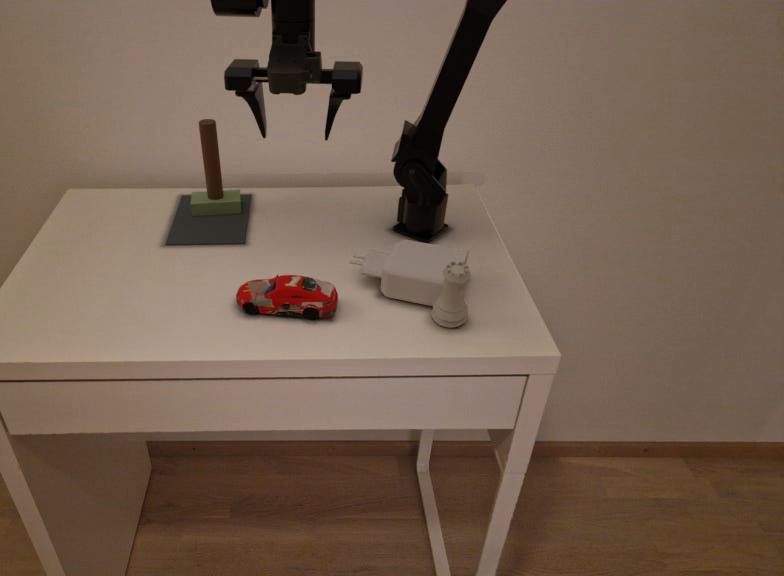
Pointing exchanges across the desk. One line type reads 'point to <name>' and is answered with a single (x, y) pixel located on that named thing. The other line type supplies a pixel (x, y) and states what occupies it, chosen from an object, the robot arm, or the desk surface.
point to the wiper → (213, 178)
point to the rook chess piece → (452, 296)
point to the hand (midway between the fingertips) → (295, 138)
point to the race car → (288, 296)
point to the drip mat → (208, 225)
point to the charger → (411, 270)
